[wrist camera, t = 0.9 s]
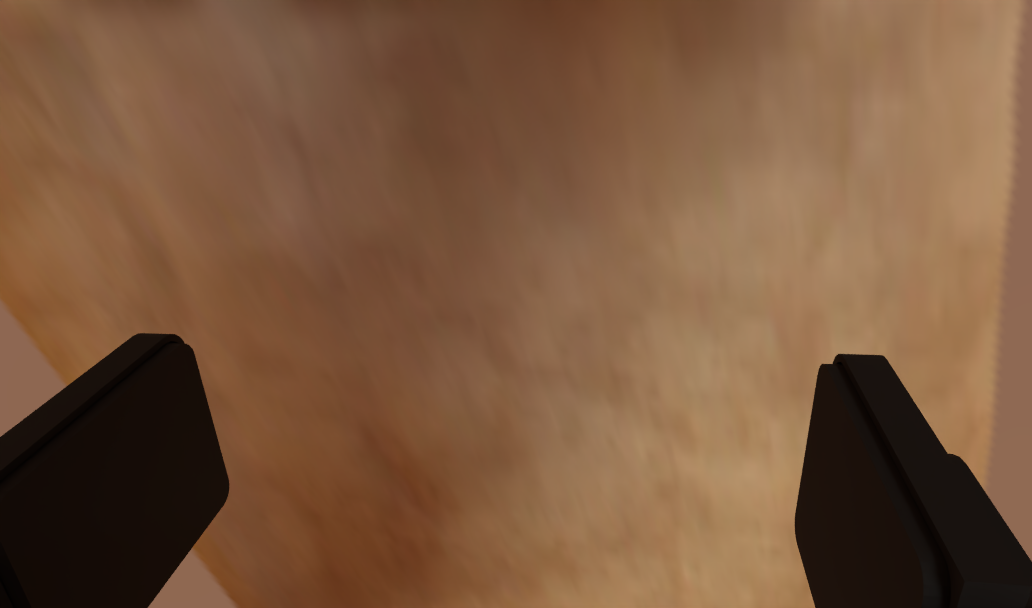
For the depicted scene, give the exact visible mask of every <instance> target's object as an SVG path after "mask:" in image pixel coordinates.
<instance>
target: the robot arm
mask: <svg viewBox="0 0 1032 608" xmlns="http://www.w3.org/2000/svg"><path fill="white" fill-rule="evenodd" d="M228 493H229V479H228V475H227V472H226V468H225V464H224V461H223V457H222V453H221V450H220V446H219V442H218V439H217V435H216V431H215V428H214V424H213V420H212V417H211V413H210V409H209V406H208V402H207V398H206V395H205V391H204V387H203V384H202V380H201V376H200V373H199V369H198V365H197V362H196V358H195V354H194V352H193V349H192V348H191V347H190V346H189V345H187V344H184V341H183V340H182V339H181V338H180V337H179V336H177V335H175V334H147V333H140V334H136V335H134V336H133V337H131V338H130V339H129V340H127V341H126V342H125V343H123V344H122V345H121V346H119V347H118V348H117V349H115V350H114V351H113V352H112V353H110V354H109V355H108V356H106V357H105V358H104V359H102V360H101V361H100V362H98V363H97V364H96V365H94V366H93V367H92V368H90V369H89V370H88V371H87V372H85V373H84V374H83V375H81V376H80V377H79V378H77V379H76V380H75V381H73V382H72V383H71V384H69V385H68V386H67V387H66V388H64V389H63V390H62V391H60V392H59V393H58V394H56V395H55V396H54V397H52V398H51V399H50V400H48V401H47V402H46V403H44V404H43V405H42V406H41V407H39V408H38V409H37V410H35V411H34V412H33V413H31V414H30V415H29V416H27V417H26V418H25V419H23V421H21V422H20V423H18V424H17V425H16V426H14V427H13V428H12V429H10V430H9V431H8V432H6V433H5V434H4V435H2V436H1V437H0V608H148V606H149V605H150V604H151V602H152V601H153V600H154V598H155V597H156V596H157V594H158V593H159V592H160V590H161V589H162V588H163V586H164V585H165V583H166V582H167V581H168V579H169V578H170V577H171V575H172V574H173V573H174V571H175V570H176V569H177V567H178V566H179V565H180V563H181V562H182V561H183V559H184V558H185V557H186V555H187V554H188V552H189V551H190V550H191V548H192V547H193V546H194V544H195V543H196V542H197V540H198V539H199V538H200V536H201V535H202V534H203V532H204V531H205V530H206V528H207V527H208V526H209V524H210V523H211V521H212V520H213V519H214V517H215V516H216V515H217V513H218V512H219V511H220V509H221V508H222V507H223V505H224V503H225V502H226V499H227V497H228ZM795 535H796V541H797V545H798V549H799V552H800V555H801V559H802V562H803V566H804V569H805V573H806V576H807V580H808V583H809V587H810V590H811V594H812V597H813V601H814V604H815V608H1032V562H1031V560H1030V558H1029V557H1028V556H1027V554H1026V553H1025V551H1024V550H1023V548H1022V547H1021V545H1020V544H1019V542H1018V541H1017V539H1016V538H1015V536H1014V535H1013V533H1012V532H1011V530H1010V529H1009V527H1008V526H1007V524H1006V523H1005V521H1004V520H1003V518H1002V517H1001V515H1000V514H999V512H998V511H997V509H996V508H995V506H994V505H993V503H992V502H991V500H990V499H989V497H988V496H987V494H986V493H985V491H984V490H983V488H982V487H981V485H980V484H979V482H978V481H977V479H976V478H975V476H974V475H973V473H972V472H971V470H970V469H969V467H968V466H967V464H966V463H965V462H964V461H963V460H962V459H961V458H960V457H959V456H956V455H953V454H947V452H946V450H945V449H944V447H943V446H942V444H941V443H940V441H939V440H938V438H937V437H936V435H935V433H934V432H933V430H932V429H931V427H930V426H929V424H928V423H927V421H926V419H925V418H924V416H923V415H922V413H921V412H920V410H919V409H918V407H917V405H916V404H915V402H914V401H913V399H912V398H911V396H910V395H909V393H908V392H907V390H906V388H905V387H904V385H903V384H902V382H901V381H900V379H899V378H898V376H897V374H896V373H895V371H894V370H893V368H892V367H891V365H890V364H889V362H888V360H887V359H886V358H885V357H884V356H882V355H856V354H838V355H837V356H836V357H835V359H834V361H833V364H822V365H821V366H820V368H819V371H818V376H817V382H816V388H815V394H814V401H813V407H812V413H811V419H810V426H809V432H808V438H807V444H806V451H805V457H804V463H803V469H802V476H801V482H800V488H799V495H798V501H797V507H796V513H795Z"/></svg>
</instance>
